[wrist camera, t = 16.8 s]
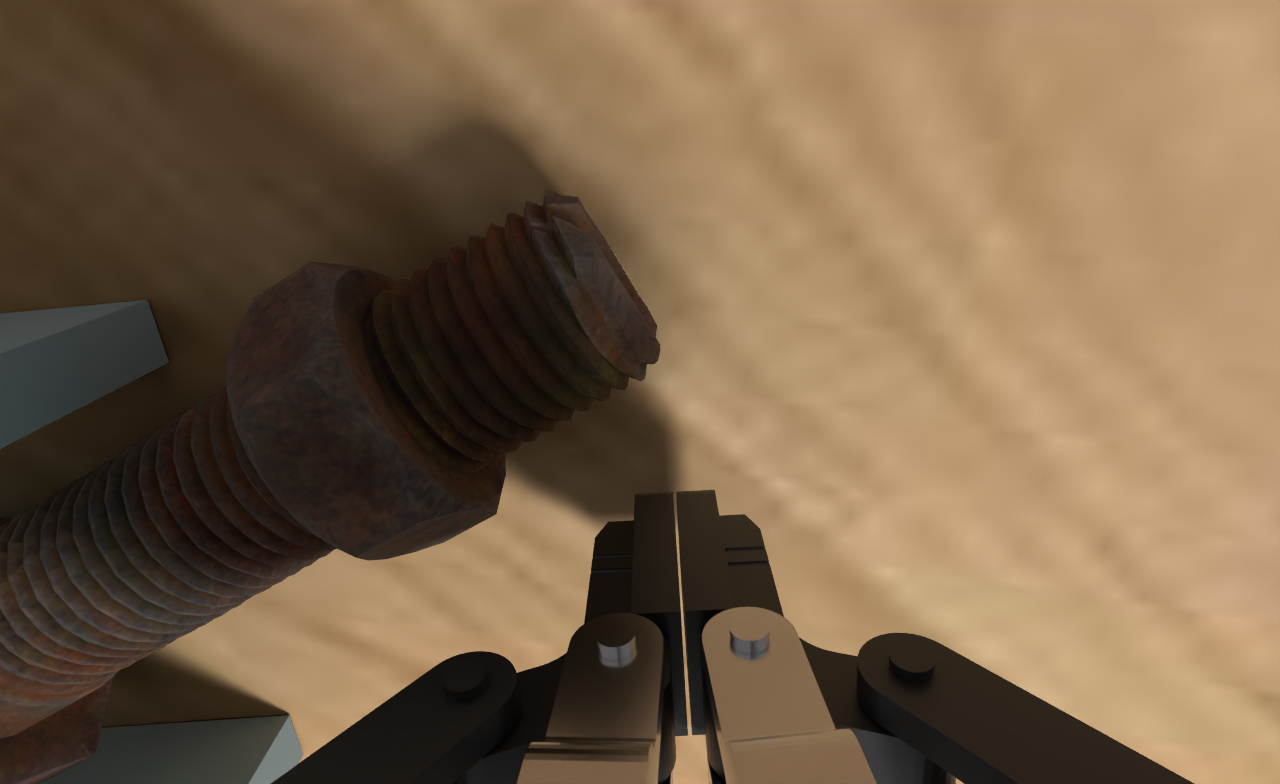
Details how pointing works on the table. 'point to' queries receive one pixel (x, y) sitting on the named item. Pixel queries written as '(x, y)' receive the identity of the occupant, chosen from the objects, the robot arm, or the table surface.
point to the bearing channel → (52, 388)
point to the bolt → (309, 457)
